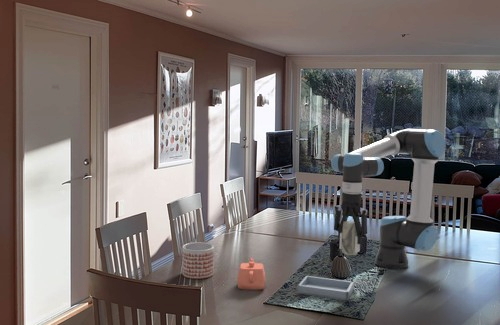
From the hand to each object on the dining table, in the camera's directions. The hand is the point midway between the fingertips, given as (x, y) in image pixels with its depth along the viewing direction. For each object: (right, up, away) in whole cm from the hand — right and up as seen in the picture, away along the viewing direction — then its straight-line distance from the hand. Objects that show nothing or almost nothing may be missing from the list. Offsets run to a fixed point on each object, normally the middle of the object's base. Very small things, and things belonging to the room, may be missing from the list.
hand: (349, 250), depth 202 cm
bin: (-9, -17, +3) cm, 19 cm away
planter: (-62, -15, +22) cm, 68 cm away
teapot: (-39, -17, +8) cm, 43 cm away
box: (0, -2, 0) cm, 2 cm away
